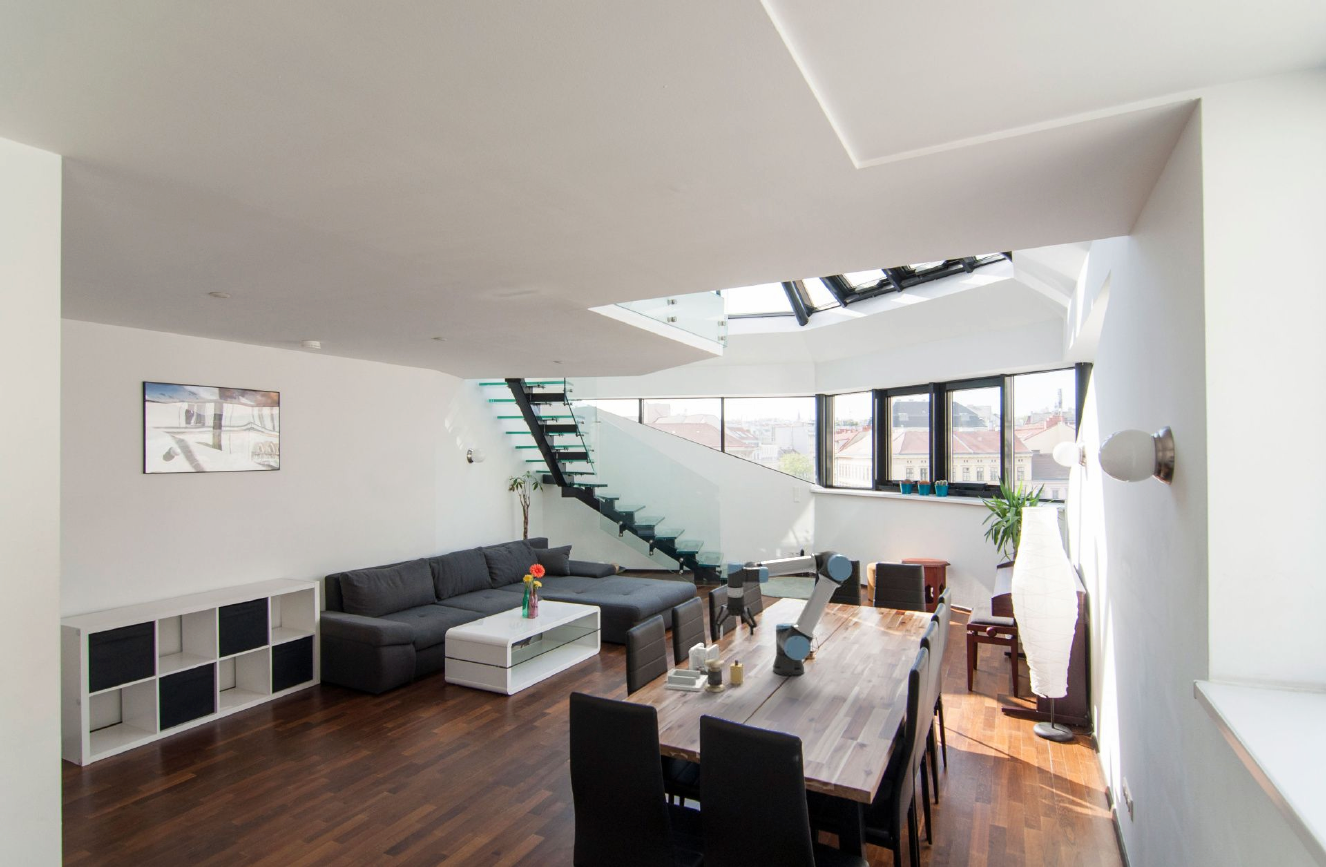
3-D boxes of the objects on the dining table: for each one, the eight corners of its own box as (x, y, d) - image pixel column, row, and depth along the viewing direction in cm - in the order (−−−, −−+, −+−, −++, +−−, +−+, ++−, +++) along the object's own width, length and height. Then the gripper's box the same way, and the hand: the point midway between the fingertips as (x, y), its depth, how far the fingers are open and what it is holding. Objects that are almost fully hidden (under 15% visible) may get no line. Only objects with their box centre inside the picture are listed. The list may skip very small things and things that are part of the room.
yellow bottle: (742, 680, 317) (742, 659, 317) (741, 684, 312) (740, 662, 313) (732, 679, 318) (732, 658, 319) (730, 683, 314) (730, 661, 314)
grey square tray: (708, 678, 320) (708, 669, 320) (699, 691, 303) (699, 681, 303) (675, 676, 325) (675, 666, 325) (665, 688, 307) (665, 678, 307)
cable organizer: (707, 675, 325) (707, 651, 325) (688, 672, 330) (687, 648, 330) (719, 666, 338) (719, 643, 339) (700, 664, 343) (700, 641, 343)
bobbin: (726, 686, 309) (726, 660, 309) (722, 693, 300) (722, 666, 301) (707, 684, 312) (707, 658, 312) (703, 691, 303) (702, 664, 303)
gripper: (762, 595, 317) (763, 640, 316) (711, 592, 324) (711, 637, 323) (760, 598, 310) (761, 645, 309) (707, 596, 317) (708, 641, 316)
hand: (735, 641), depth 316 cm, fingers open, 13 cm apart
